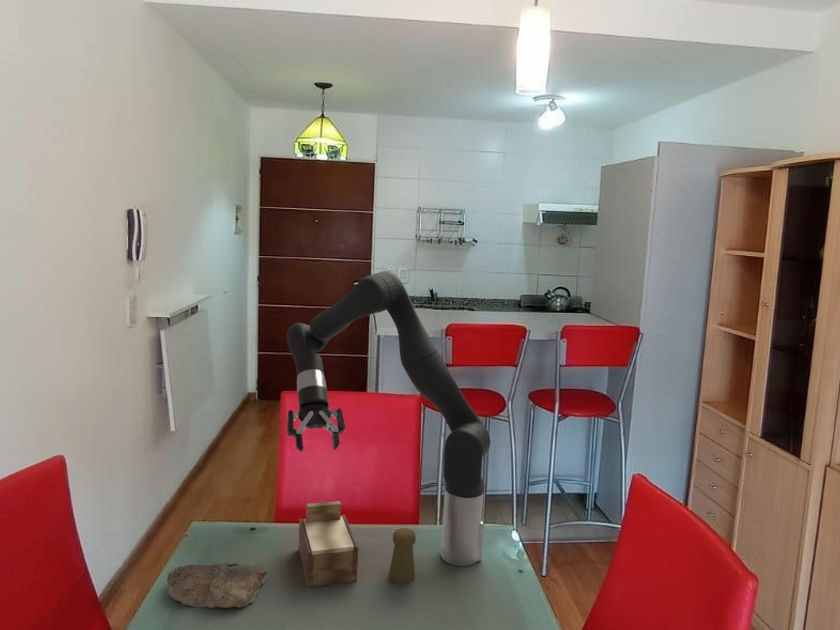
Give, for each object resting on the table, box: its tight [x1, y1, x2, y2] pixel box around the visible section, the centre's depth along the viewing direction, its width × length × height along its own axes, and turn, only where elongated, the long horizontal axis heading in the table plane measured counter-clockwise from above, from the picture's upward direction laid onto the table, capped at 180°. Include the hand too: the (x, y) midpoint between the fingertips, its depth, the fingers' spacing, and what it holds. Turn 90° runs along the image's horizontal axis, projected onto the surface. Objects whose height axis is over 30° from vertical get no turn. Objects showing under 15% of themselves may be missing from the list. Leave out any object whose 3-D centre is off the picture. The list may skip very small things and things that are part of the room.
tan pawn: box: [388, 527, 417, 584], centre depth 146 cm, size 6×6×11 cm
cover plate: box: [302, 500, 354, 555], centre depth 148 cm, size 9×15×5 cm, turn 18°
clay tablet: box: [166, 562, 268, 609], centre depth 137 cm, size 14×5×20 cm
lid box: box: [298, 514, 359, 588], centre depth 149 cm, size 11×16×8 cm
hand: (318, 449), depth 159 cm, fingers open, 8 cm apart
